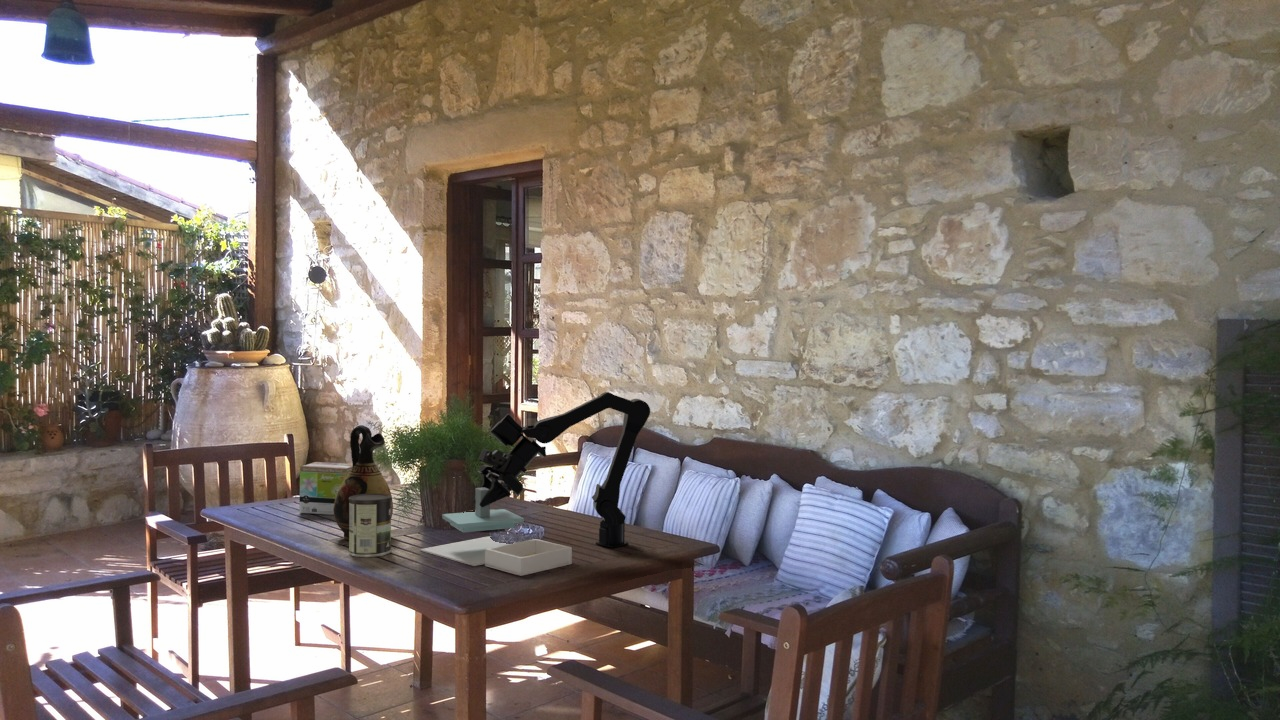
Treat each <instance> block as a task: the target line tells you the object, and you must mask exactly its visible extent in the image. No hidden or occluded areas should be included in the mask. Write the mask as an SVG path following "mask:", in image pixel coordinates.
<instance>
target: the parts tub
mask: <svg viewBox="0 0 1280 720" xmlns="http://www.w3.org/2000/svg"><path fill="white" fill-rule="evenodd" d="M572 550H573V549H572V546H568V545H564V544H559V543H554V542H551V541H546V540H542V539H537V538H534V539H533V538H532V539H529V540H523V541H518V542H514V543H513V544H508V545H503V546H498V547H493V548H488V549H485V564H484V567H488V568H490V569H491V568H492V569H495V570H499V571H502V572H506V573H509V574H513V575H516V576H521V577H522V576H526V575H531V574H534V573H540V572H543V571H547V570H552V569H556V568H560V567H565V566H567V565H572V561H573V560H572V559H573V555H572V554H573V552H572Z"/></svg>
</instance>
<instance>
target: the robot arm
mask: <svg viewBox="0 0 1280 720" xmlns="http://www.w3.org/2000/svg"><path fill="white" fill-rule="evenodd" d="M607 409H612V410H614V411H617V412H619V413H622V414H623V413H624V414H623V422H622V432H621V434H620V437H619V440H618V443H617V446H616V448H615V452H614V454H613V458H612V460H611V463H610V466H609V468H608V471H607V475H606V477H605V480H604V481H603V482H602V484H601V485H600V484H598V483H597V484H596V485H595V492H594V493H593V495H592V496H591V499H592V500H593V502H592V505H593V508H594V510H595V511H596V513H597V514H598V516H600V517H601V519H602V520H601V521H600V522H599V528H598V531H599V532H598V541H595V545H599V546H603V547H607V548H611V549H612V548H618V547H621V546H626V545H627V546H628V545H629V544H630V542H628V541H625V538H626V537H625V536H626V535H625V534H626V533H625V530H626V529H625V525H626V523H625V521H626V518H627V517H626V515H625V514H624V513H623V511H622V509H620V508H619V501H620V494H621V493H620V492H621V491H620V490H621V484H622V481H623V478H624V475H625V472H626V469H627V467H628V463H629V460H630V457H631V455H632V451H633V449H634V445H635V443H636V440H637V437H638V435H639V433H640V432H641V431H642V429H643V428H644V426H645V425H646V422H647V421H648V419H649V417H650V415H651V408H650V405H649V404H648V403H647V402H646V401H644V400H642V399H640V398H632V399H628V398H625V397H621V396H618V395H615V394H613V393H611V392H610V391H604V392H603V393H601V394H600V395H598V396H596V397H594V398H592V399H591V400H588V401H586V402H584V403H582V404H580V405H577V406H576V407H574V408H572V409H570V410H568V411H566V412H563V413H561V414H558V415H554V416H549V417H546V418H542V419H539V420H537V421H536V422H535V423H534V424H530V425H525V426H522V425H520V423H519V422H517V420H515V419H514V418H513V416H512V415H511V414H510V413H507V414H506V415H505V416H504V417H503V418H502V419H500V421H498V422H497V423H496V424H495V425H494V426H493V427H492V428H491V430H490V431H489V433H490V434H491V435H492V436H493V437H495V438H496V440H497V441H499V442H500V443H501V444H502V445H503V446H504V447H505V448H506V447H507V446H510V447H513V448H512V449H511V450H510V451H509V452H508V453H507V452H506V453H504V452H503V451H501V450H497V449H495V450H493V451H490V450H488V449H485V448H482V450H481V452H480V454H479V455H478V456H479V457H478V458H477V460H478V462H482V463H485V464H483V465H480V467H479V468H478V469H477V472H478V473H479V474H480V477H481V484H480V487H479V488H483V487H485V488H487V489H489V491H488V492H487V494H486V495H485V496H484V498H483V499H482V501H481V502H480V504H479V505H480V506H481V507H485V506H487V505H489V504H490V505H491V504H492V503H496V502H497V501H499V500H500V501H501V499H505V498H507V497H510V496H512V494H513V495H516V496H518V497H519V496H520V495H521V493H522V492H523V491H524V485H523V484H522V483H521V482H520V481H519V480H518V477H519V476H520V475H521V473H523V474H525V473H526V472H527V469H526V468H527V467H528V465H529V464H530V463H531V462H532V461H533V460H534V459H535V458H536V456H537V455H538V456H539V457H540V458H546V457H547V452H546V449H547V447H546V446H540V445H539V443H541V444H544V445H545V444H549V443H551V442H552V441H554V440H555V439H556V438H558V437H559V436H561V435H562V434H563V433H564V432H566V431H567V430H568V429H569V428H570V427H572V426H575V425H576V424H579V423H581V422H583V421H584V420H586V419H588V418H591V417H593V416H594V415H596V414H599V413H601V412H603V411H605V410H607ZM528 438H532V439H531V440H530V439H528ZM519 439H520V440H519ZM534 439H535V440H536V441H535V440H534ZM537 442H538V443H537ZM515 444H516V445H515ZM511 491H512V493H511ZM473 504H475V498H474V499H473Z"/></svg>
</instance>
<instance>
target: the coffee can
mask: <svg viewBox="0 0 1280 720" xmlns="http://www.w3.org/2000/svg"><path fill="white" fill-rule="evenodd" d="M391 495H392V494H391ZM391 495H388V494H360V495H354V496H351V497H349V540H348V546H349V548H348V555H349V556H352V557H355V558H376V557H382V556H386V555H389V554H390V553H392V518H391V499H392V500H393V495H392V496H391Z"/></svg>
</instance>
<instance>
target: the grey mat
mask: <svg viewBox="0 0 1280 720" xmlns="http://www.w3.org/2000/svg"><path fill="white" fill-rule="evenodd" d="M490 537H491V536H489V535H487V536H483V537H478V538H473V539H467V540H462V541H457V542H451V543H447V544H441V545H436V546H429V547H425V548H420V549H419V551H420V552H423V553H427V554H431V555H433V556H436V557H441V558H445V559H448V560H450V561H451V560H452V561H455V562H458V563H461V564H465V565H469V566H472V567H477V566H481V565H485V549H488V548H493V547H498V546H503V545H508V544H506V543H499V542H495V541H493V540H492V539H491V538H490Z"/></svg>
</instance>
